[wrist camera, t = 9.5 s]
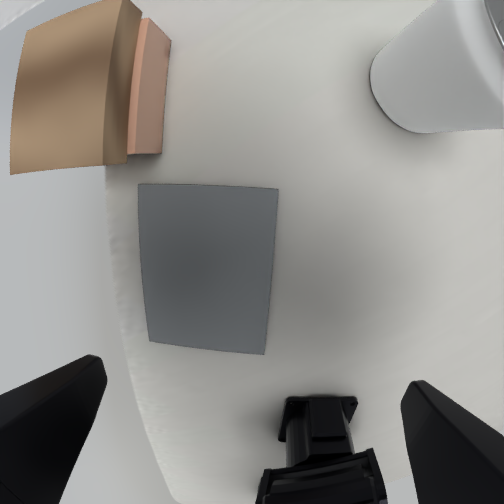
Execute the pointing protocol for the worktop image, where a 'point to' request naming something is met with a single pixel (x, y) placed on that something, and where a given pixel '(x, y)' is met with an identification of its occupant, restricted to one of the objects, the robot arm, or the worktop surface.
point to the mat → (207, 264)
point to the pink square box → (148, 90)
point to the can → (445, 69)
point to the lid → (75, 89)
